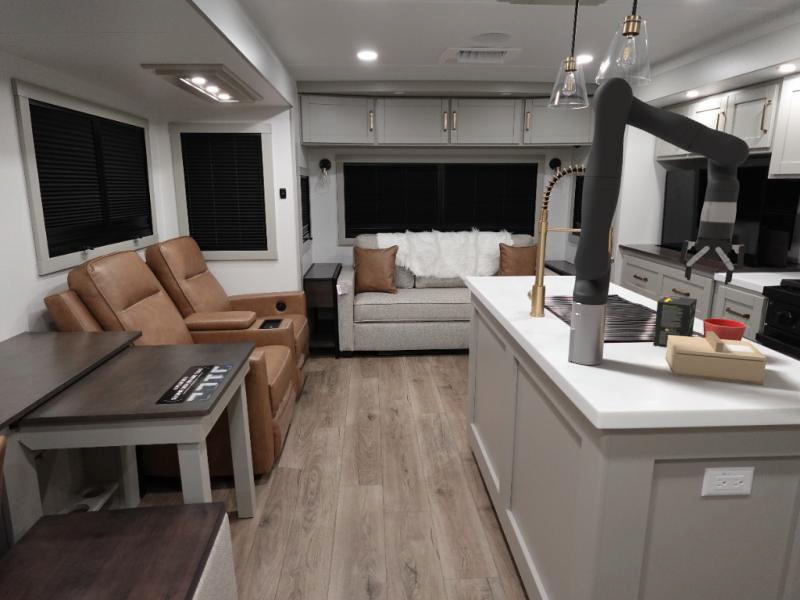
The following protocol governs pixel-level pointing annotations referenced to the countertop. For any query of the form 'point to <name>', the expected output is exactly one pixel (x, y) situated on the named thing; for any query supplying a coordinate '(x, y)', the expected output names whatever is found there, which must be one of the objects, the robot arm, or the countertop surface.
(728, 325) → the flower pot
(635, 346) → the countertop surface
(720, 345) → the lid
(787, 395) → the countertop surface
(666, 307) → the tampon box
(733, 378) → the box
